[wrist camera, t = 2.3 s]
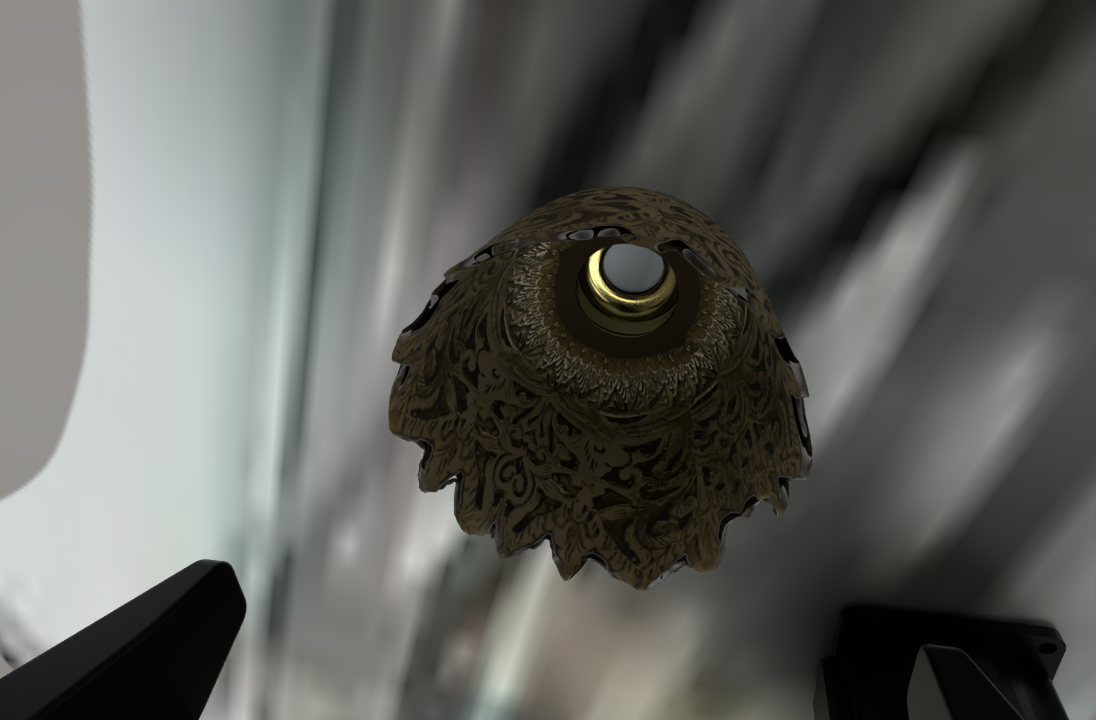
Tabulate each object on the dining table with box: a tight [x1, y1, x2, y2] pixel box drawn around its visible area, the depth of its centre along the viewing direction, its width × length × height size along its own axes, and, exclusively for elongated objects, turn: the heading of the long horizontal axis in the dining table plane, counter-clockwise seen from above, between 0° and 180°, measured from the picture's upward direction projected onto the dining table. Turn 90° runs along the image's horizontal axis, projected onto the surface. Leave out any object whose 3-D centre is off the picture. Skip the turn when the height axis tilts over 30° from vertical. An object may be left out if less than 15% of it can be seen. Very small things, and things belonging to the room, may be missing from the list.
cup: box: [389, 187, 812, 590], centre depth 16 cm, size 8×7×8 cm
